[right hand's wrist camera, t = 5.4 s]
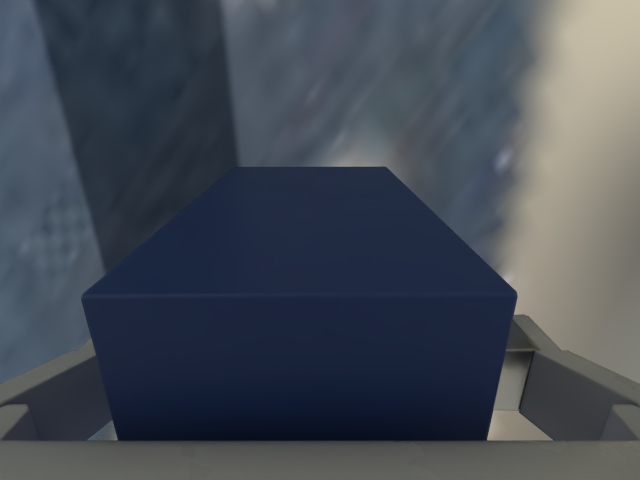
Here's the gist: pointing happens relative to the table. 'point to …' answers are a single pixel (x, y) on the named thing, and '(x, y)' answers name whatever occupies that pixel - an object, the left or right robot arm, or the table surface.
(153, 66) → the table surface
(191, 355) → the box
